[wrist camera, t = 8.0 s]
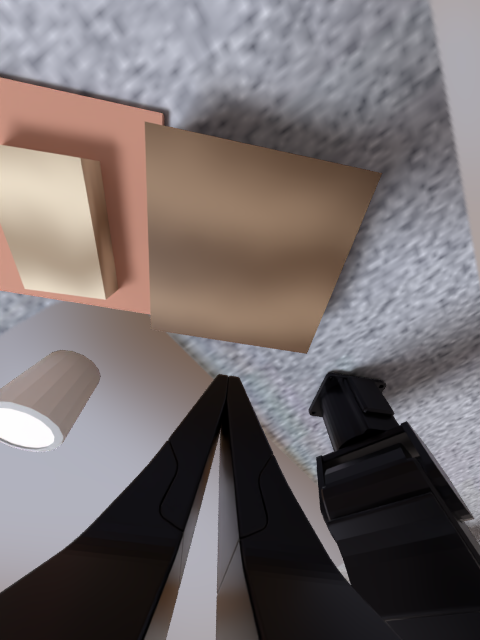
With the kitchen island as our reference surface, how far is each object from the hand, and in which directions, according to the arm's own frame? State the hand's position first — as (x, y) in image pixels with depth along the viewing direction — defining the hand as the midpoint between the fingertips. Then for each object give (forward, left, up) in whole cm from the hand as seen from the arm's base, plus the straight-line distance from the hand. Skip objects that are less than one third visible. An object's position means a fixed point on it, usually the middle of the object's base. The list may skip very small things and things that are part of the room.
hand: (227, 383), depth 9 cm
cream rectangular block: (+2, +13, -9) cm, 16 cm away
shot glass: (-13, +16, -12) cm, 24 cm away
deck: (+3, 0, -12) cm, 12 cm away
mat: (+3, +13, -12) cm, 18 cm away
